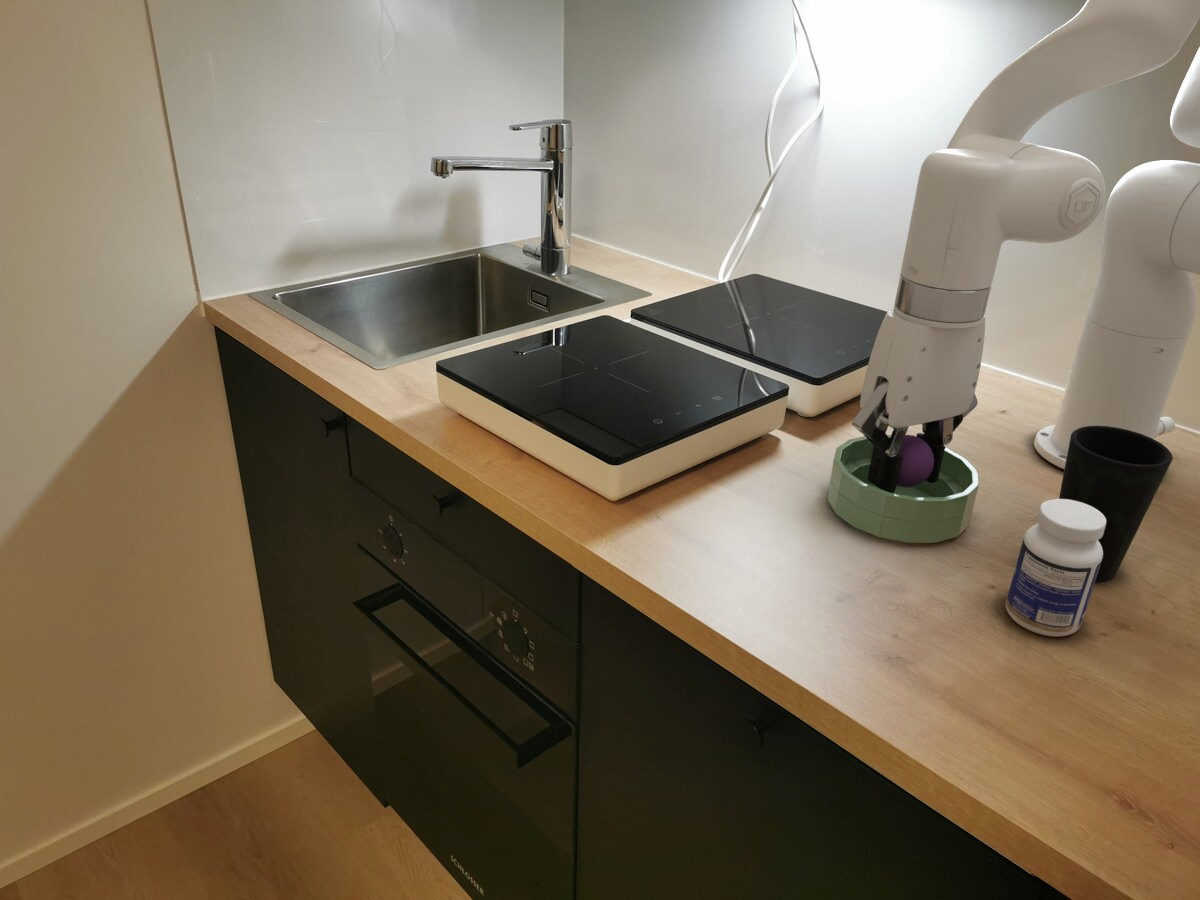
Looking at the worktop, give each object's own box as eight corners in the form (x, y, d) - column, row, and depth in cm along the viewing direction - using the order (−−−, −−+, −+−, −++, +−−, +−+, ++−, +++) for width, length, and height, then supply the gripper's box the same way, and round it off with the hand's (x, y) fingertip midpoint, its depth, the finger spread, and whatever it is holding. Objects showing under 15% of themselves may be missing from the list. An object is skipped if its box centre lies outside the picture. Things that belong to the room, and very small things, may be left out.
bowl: (899, 468, 97) (908, 426, 95) (997, 529, 86) (1009, 483, 84) (800, 492, 91) (806, 448, 89) (891, 560, 81) (901, 512, 79)
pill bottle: (1031, 589, 78) (1062, 487, 73) (1094, 625, 74) (1130, 520, 69) (989, 609, 75) (1018, 505, 70) (1051, 648, 71) (1087, 540, 66)
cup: (1141, 595, 78) (1187, 471, 72) (1046, 582, 79) (1084, 459, 73) (1114, 547, 84) (1154, 431, 79) (1027, 535, 86) (1061, 420, 80)
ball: (902, 467, 91) (912, 422, 88) (939, 490, 87) (950, 443, 84) (863, 477, 88) (872, 431, 86) (899, 501, 85) (910, 453, 82)
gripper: (977, 278, 86) (938, 450, 94) (836, 297, 79) (807, 481, 87) (1044, 301, 80) (995, 482, 88) (897, 324, 73) (859, 518, 81)
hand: (902, 480), depth 87 cm, fingers closed on ball, 4 cm apart
